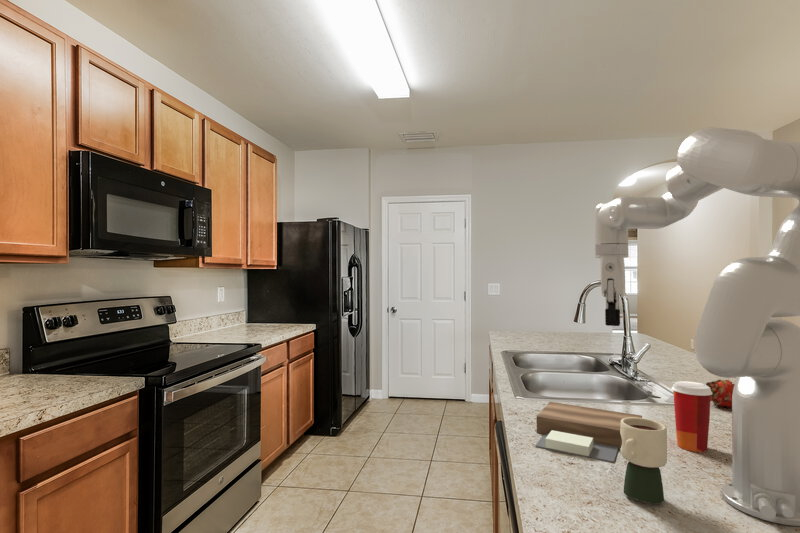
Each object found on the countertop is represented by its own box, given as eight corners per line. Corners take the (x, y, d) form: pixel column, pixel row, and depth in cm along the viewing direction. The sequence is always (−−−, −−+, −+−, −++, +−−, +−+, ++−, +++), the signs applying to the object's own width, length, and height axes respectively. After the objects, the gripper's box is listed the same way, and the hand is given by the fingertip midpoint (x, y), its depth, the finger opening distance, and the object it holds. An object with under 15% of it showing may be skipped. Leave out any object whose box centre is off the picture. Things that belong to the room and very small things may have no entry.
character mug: (638, 481, 83) (638, 412, 84) (679, 497, 78) (679, 423, 78) (606, 499, 77) (606, 424, 77) (649, 517, 71) (648, 436, 71)
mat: (613, 462, 92) (613, 461, 92) (535, 446, 100) (535, 445, 100) (618, 448, 99) (618, 446, 99) (545, 434, 108) (545, 433, 108)
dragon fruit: (708, 414, 127) (729, 414, 133) (737, 403, 122) (757, 403, 127) (691, 386, 132) (712, 387, 138) (718, 374, 126) (739, 375, 132)
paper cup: (704, 442, 102) (704, 381, 102) (719, 456, 95) (718, 390, 95) (666, 439, 104) (666, 379, 105) (677, 452, 97) (677, 387, 97)
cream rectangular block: (593, 437, 99) (593, 446, 99) (551, 430, 104) (551, 438, 104) (588, 446, 94) (588, 456, 94) (545, 438, 99) (545, 447, 99)
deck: (638, 451, 97) (638, 433, 97) (536, 432, 109) (536, 416, 109) (642, 431, 109) (642, 415, 109) (550, 416, 121) (550, 401, 121)
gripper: (627, 250, 103) (628, 329, 103) (629, 252, 116) (630, 323, 116) (591, 251, 107) (593, 327, 106) (598, 253, 120) (599, 322, 119)
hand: (612, 325), depth 111 cm, fingers closed
